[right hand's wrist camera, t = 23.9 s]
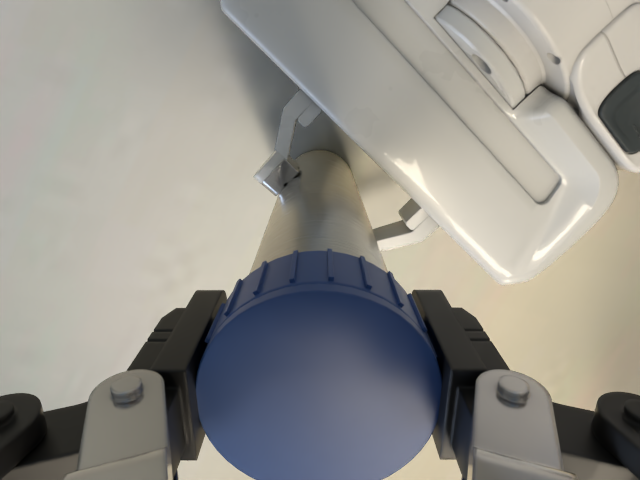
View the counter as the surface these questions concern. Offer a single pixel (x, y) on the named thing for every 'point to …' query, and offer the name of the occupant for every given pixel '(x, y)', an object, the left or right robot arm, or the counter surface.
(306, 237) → the metal cylinder
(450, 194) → the left robot arm
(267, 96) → the counter surface
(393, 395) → the lid
